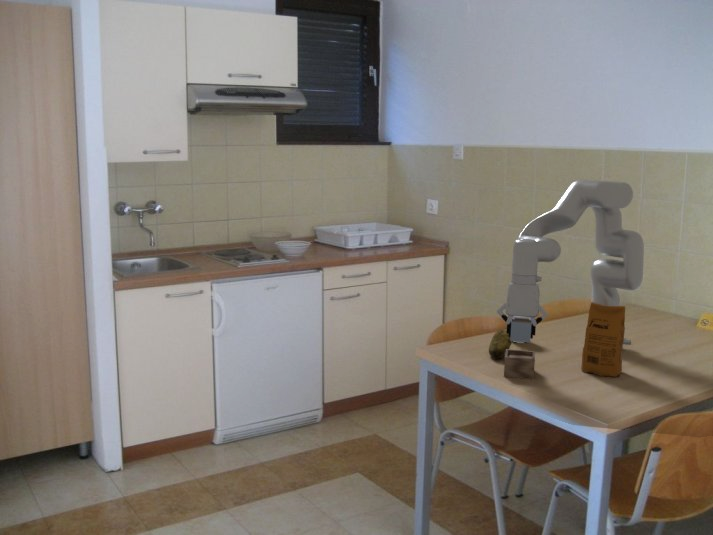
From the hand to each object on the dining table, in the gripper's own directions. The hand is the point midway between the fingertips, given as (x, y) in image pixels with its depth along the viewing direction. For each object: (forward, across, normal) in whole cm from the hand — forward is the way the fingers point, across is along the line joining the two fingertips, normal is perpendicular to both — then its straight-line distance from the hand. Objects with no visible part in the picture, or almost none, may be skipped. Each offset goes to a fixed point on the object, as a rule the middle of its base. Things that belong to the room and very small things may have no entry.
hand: (520, 336), depth 231 cm
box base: (+12, 0, 0) cm, 12 cm away
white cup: (+12, +1, -38) cm, 40 cm away
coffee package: (+12, -26, -9) cm, 30 cm away
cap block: (+1, 0, 0) cm, 1 cm away
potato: (+12, +7, -18) cm, 23 cm away
